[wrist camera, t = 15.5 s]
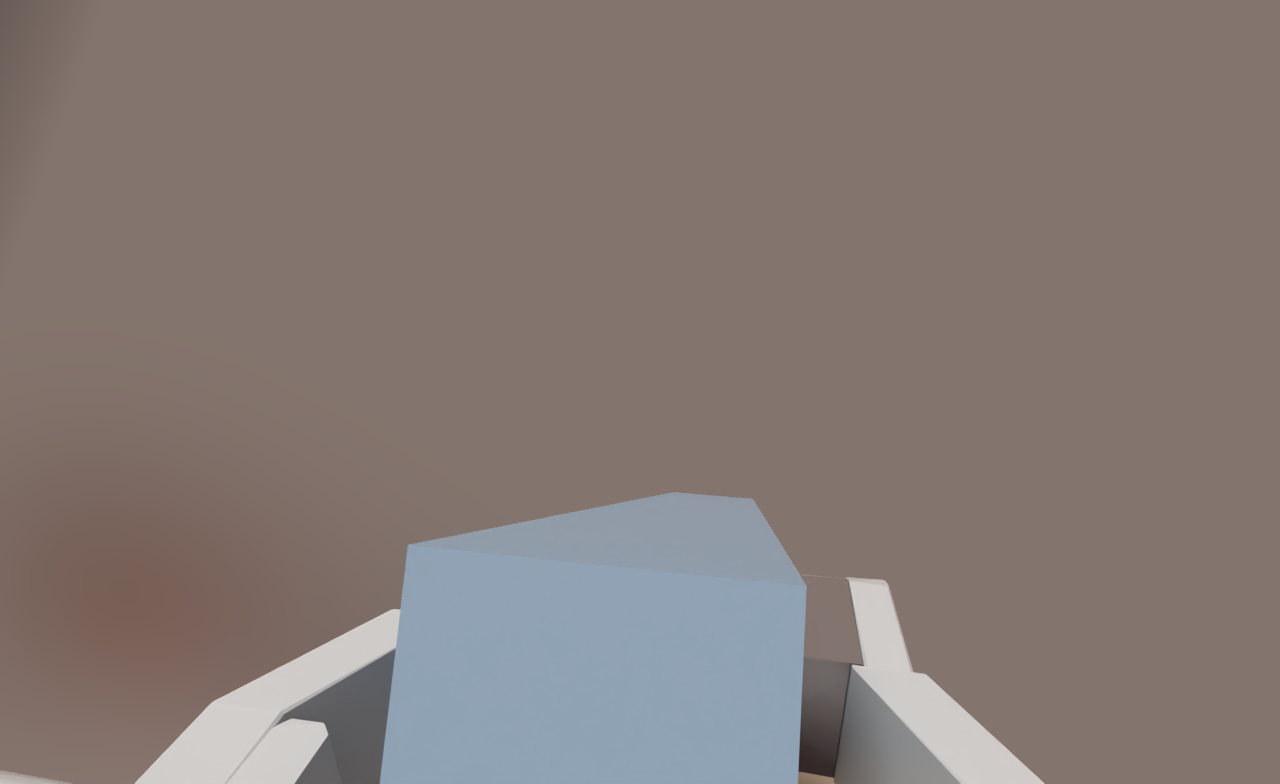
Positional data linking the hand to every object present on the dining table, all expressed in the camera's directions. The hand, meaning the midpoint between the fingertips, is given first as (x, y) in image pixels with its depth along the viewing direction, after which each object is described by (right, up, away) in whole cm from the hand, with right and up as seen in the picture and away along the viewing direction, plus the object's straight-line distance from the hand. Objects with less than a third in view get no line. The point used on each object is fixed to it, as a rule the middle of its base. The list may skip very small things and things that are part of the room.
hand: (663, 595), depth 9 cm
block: (+1, -3, +5) cm, 6 cm away
